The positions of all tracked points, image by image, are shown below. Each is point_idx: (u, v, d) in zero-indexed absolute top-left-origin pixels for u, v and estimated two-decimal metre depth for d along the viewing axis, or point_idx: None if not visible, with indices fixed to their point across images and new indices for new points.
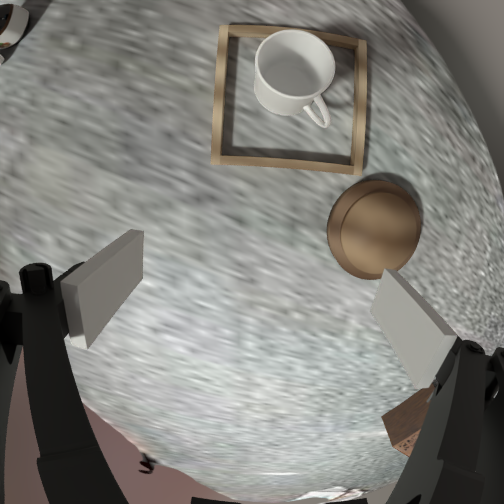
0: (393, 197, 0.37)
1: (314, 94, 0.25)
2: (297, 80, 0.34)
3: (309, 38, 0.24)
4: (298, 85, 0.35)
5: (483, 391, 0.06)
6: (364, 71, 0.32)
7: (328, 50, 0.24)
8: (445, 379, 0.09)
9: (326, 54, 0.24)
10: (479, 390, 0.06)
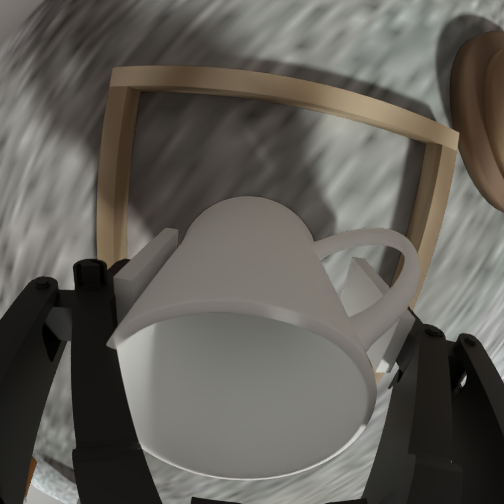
0: (497, 78, 0.11)
1: (370, 385, 0.07)
2: None
3: (120, 351, 0.07)
4: None
5: (448, 376, 0.07)
6: (201, 71, 0.13)
7: (160, 318, 0.06)
8: (405, 365, 0.10)
9: None
10: (443, 375, 0.07)
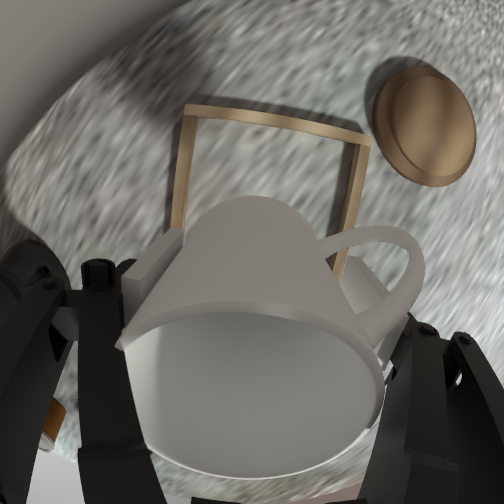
0: (400, 101, 0.26)
1: (378, 381, 0.07)
2: None
3: (128, 352, 0.07)
4: None
5: (442, 374, 0.07)
6: (233, 111, 0.28)
7: (169, 319, 0.06)
8: (399, 363, 0.10)
9: None
10: (438, 374, 0.07)
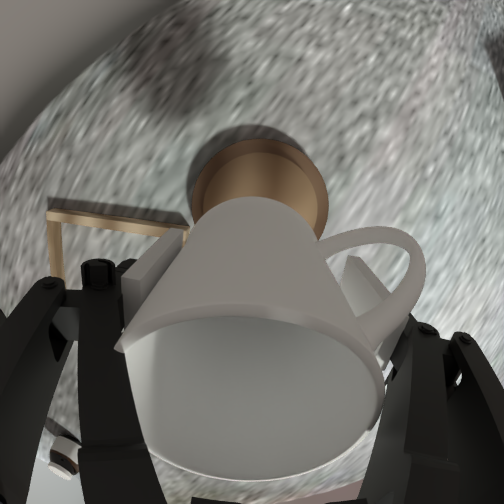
0: (209, 192, 0.30)
1: (378, 384, 0.06)
2: None
3: (126, 355, 0.07)
4: None
5: (442, 374, 0.07)
6: (75, 217, 0.32)
7: (168, 322, 0.06)
8: (399, 363, 0.10)
9: None
10: (438, 374, 0.07)
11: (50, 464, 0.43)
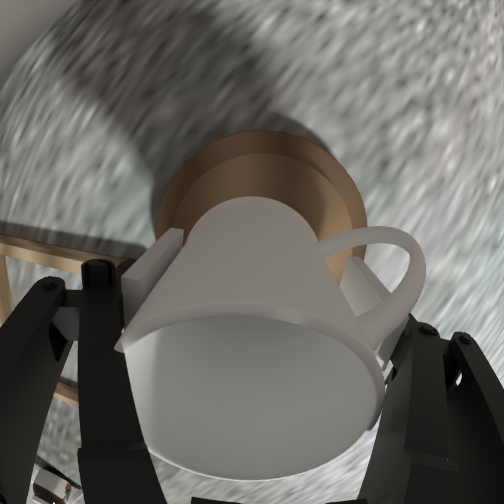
0: (180, 220, 0.19)
1: (378, 384, 0.06)
2: None
3: (127, 355, 0.07)
4: None
5: (443, 374, 0.07)
6: (12, 248, 0.21)
7: (168, 322, 0.06)
8: (399, 363, 0.10)
9: None
10: (438, 374, 0.07)
11: (34, 498, 0.31)
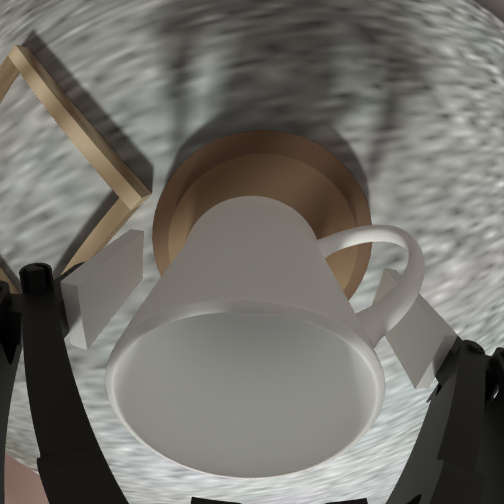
0: (214, 174, 0.17)
1: (378, 380, 0.07)
2: None
3: (128, 352, 0.07)
4: None
5: (483, 391, 0.06)
6: (33, 73, 0.15)
7: (170, 319, 0.06)
8: (445, 379, 0.09)
9: None
10: (479, 390, 0.06)
11: None
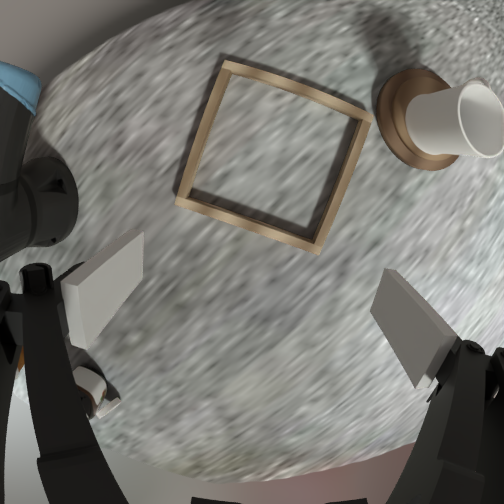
0: (401, 91, 0.30)
1: (497, 98, 0.19)
2: None
3: None
4: None
5: (483, 391, 0.06)
6: (263, 72, 0.32)
7: (463, 91, 0.19)
8: (445, 379, 0.09)
9: None
10: (479, 390, 0.06)
11: None
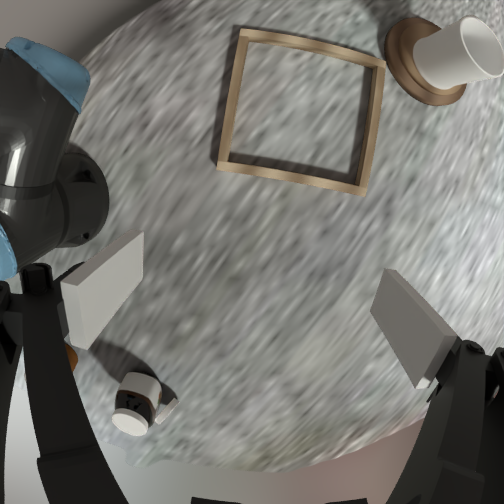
0: (405, 38, 0.29)
1: (489, 28, 0.17)
2: None
3: (461, 41, 0.19)
4: None
5: (483, 391, 0.06)
6: (279, 35, 0.31)
7: (462, 24, 0.18)
8: (445, 379, 0.09)
9: None
10: (479, 390, 0.06)
11: (118, 411, 0.42)
